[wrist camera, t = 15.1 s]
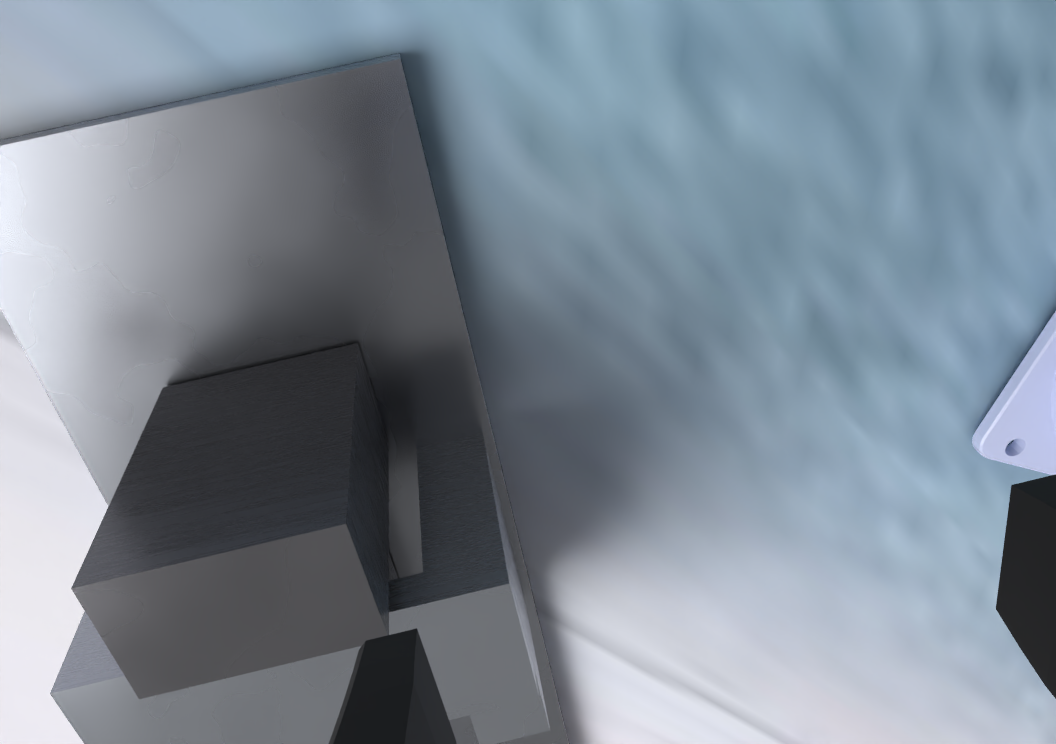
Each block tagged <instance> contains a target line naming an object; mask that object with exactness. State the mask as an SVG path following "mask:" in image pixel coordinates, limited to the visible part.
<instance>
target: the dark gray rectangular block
mask: <svg viewBox="0 0 1056 744" xmlns="http://www.w3.org/2000/svg"><path fill="white" fill-rule="evenodd" d="M397 578H398V577H397V574H396V571H395V568H394V565H393V562H392V560H391V557H390V554H389V438H388V435H387V432H386V429H385V426H384V423H383V420H382V417H381V414H380V410H379V407H378V404H377V401H376V398H375V395H374V392H373V389H372V385H371V382H370V379H369V376H368V373H367V370H366V367H365V364H364V361H363V357H362V354H361V351H360V348H359V345H358V343H355V344H351V345H347V346H342V347H338V348H334V349H329V350H325V351H321V352H316V353H312V354H307V355H303V356H299V357H294V358H290V359H286V360H281V361H277V362H272V363H268V364H264V365H259V366H255V367H251V368H246V369H242V370H238V371H233V372H229V373H224V374H220V375H216V376H211V377H207V378H203V379H198V380H194V381H189V382H185V383H181V384H176V385H172V386H168V387H163V388H162V390H161V393H160V395H159V397H158V399H157V401H156V404H155V406H154V408H153V410H152V412H151V415H150V417H149V419H148V421H147V423H146V426H145V428H144V430H143V432H142V434H141V437H140V439H139V441H138V443H137V445H136V448H135V450H134V452H133V454H132V456H131V459H130V461H129V463H128V465H127V467H126V470H125V472H124V474H123V476H122V478H121V481H120V483H119V485H118V487H117V489H116V492H115V494H114V496H113V498H112V500H111V503H110V505H109V507H108V509H107V511H106V514H105V516H104V518H103V520H102V522H101V525H100V527H99V529H98V531H97V533H96V536H95V538H94V540H93V542H92V544H91V547H90V549H89V551H88V553H87V555H86V558H85V560H84V562H83V564H82V566H81V569H80V571H79V573H78V575H77V577H76V580H75V582H74V584H73V586H72V588H71V589H72V590H73V592H74V594H75V595H76V597H77V599H78V600H79V602H80V604H81V605H82V607H83V608H84V610H85V612H86V613H87V615H88V617H89V618H90V620H91V622H92V623H93V625H94V626H95V628H96V630H97V631H98V633H99V635H100V636H101V638H102V640H103V641H104V643H105V644H106V646H107V648H108V649H109V651H110V653H111V654H112V656H113V657H114V659H115V661H116V662H117V664H118V666H119V667H120V669H121V671H122V672H123V674H124V675H125V677H126V679H127V680H128V682H129V684H130V685H131V687H132V689H133V690H134V692H135V693H136V695H137V697H138V698H139V699H143V698H147V697H151V696H155V695H160V694H164V693H168V692H172V691H176V690H180V689H185V688H189V687H193V686H197V685H201V684H205V683H209V682H214V681H218V680H222V679H226V678H230V677H234V676H238V675H243V674H247V673H251V672H255V671H259V670H263V669H268V668H272V667H276V666H280V665H284V664H288V663H292V662H297V661H301V660H305V659H309V658H313V657H317V656H321V655H326V654H330V653H334V652H338V651H342V650H346V649H351V648H355V647H359V646H362V645H363V644H364V642H365V641H366V640H370V639H375V638H379V637H383V636H387V635H389V580H393V579H397Z"/></svg>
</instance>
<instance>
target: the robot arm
mask: <svg viewBox="0 0 1056 744" xmlns="http://www.w3.org/2000/svg"><path fill="white" fill-rule="evenodd" d="M1012 440H1014V441H1013V442H1012V443H1011V444H1010V445H1008V444H1009V443H1010V442H1011V441H1012ZM972 444H973V446H974V448H975V449H976V450H977V451H978V452H979V453H980V454H981V455H982V456H984V457H986V458H988V459H992V460H995V461H999V462H1003V463H1007V464H1011V465H1015V466H1019V467H1023V468H1027V469H1031V470H1035V471H1038V472H1042V473H1046V474H1050V475H1052V476H1048V477H1043V478H1039V479H1035V480H1031V481H1027V482H1023V483H1019V484H1014V485H1012V486H1011V494H1010V502H1009V510H1008V518H1007V525H1006V533H1005V541H1004V549H1003V557H1002V565H1001V573H1000V581H999V588H998V596H997V604H996V610H997V611H998V613H999V615H1000V616H1001V618H1002V619H1003V621H1004V623H1005V624H1006V626H1007V627H1008V629H1009V631H1010V632H1011V634H1012V635H1013V637H1014V639H1015V640H1016V642H1017V643H1018V645H1019V647H1020V648H1021V650H1022V651H1023V653H1024V654H1025V656H1026V657H1027V659H1028V660H1029V662H1030V663H1031V665H1032V666H1033V668H1034V669H1035V671H1036V672H1037V674H1038V675H1039V677H1040V678H1041V680H1042V681H1043V683H1044V684H1045V686H1046V687H1047V688H1048V690H1049V691H1050V692H1051V693H1052V695H1053V696H1054V697H1055V698H1056V311H1055V313H1054V314H1053V316H1052V317H1051V319H1050V320H1049V322H1048V323H1047V325H1046V326H1045V328H1044V329H1043V331H1042V332H1041V334H1040V335H1039V337H1038V338H1037V340H1036V341H1035V343H1034V344H1033V346H1032V347H1031V349H1030V350H1029V352H1028V353H1027V355H1026V356H1025V358H1024V359H1023V361H1022V362H1021V364H1020V365H1019V367H1018V368H1017V370H1016V371H1015V373H1014V374H1013V376H1012V377H1011V379H1010V380H1009V382H1008V383H1007V385H1006V386H1005V388H1004V389H1003V391H1002V392H1001V394H1000V395H999V397H998V398H997V400H996V401H995V403H994V404H993V406H992V407H991V409H990V410H989V412H988V413H987V415H986V416H985V418H984V419H983V421H982V422H981V424H980V425H979V427H978V428H977V430H976V431H975V433H974V436H973V438H972ZM1007 445H1008V446H1007ZM329 744H457V743H456V739H455V736H454V733H453V730H452V727H451V725H450V722H449V719H448V716H447V713H446V710H445V707H444V704H443V702H442V699H441V696H440V693H439V690H438V687H437V684H436V681H435V679H434V676H433V673H432V670H431V667H430V664H429V661H428V658H427V656H426V653H425V650H424V647H423V644H422V641H421V638H420V635H419V632H418V630H417V628H416V629H412V630H408V631H404V632H399V633H395V634H391V635H387V636H383V637H379V638H375V639H370V640H366V641H365V642H364V644H363V645H362V646H361V648H360V649H359V651H358V654H357V658H356V662H355V665H354V669H353V672H352V675H351V678H350V682H349V685H348V688H347V691H346V694H345V698H344V701H343V704H342V707H341V710H340V713H339V716H338V718H337V721H336V724H335V727H334V730H333V733H332V735H331V738H330V741H329Z"/></svg>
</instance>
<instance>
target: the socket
mask: <svg viewBox="0 0 1056 744" xmlns="http://www.w3.org/2000/svg"><path fill="white" fill-rule="evenodd" d="M0 309H1V311H2V312H3V314H4V316H5V318H6V320H7V322H8V323H9V325H10V327H11V329H12V331H13V333H14V334H15V336H16V338H17V340H18V342H19V344H20V345H21V347H22V349H23V351H24V353H25V355H26V356H27V358H28V360H29V362H30V364H31V365H32V367H33V369H34V371H35V373H36V375H37V376H38V378H39V380H40V382H41V384H42V386H43V387H44V389H45V391H46V393H47V395H48V397H49V398H50V400H51V402H52V404H53V406H54V408H55V409H56V411H57V413H58V415H59V417H60V419H61V420H62V422H63V424H64V426H65V428H66V430H67V431H68V433H69V435H70V437H71V439H72V441H73V442H74V444H75V446H76V448H77V450H78V452H79V453H80V455H81V457H82V459H83V461H84V462H85V464H86V466H87V468H88V470H89V472H90V473H91V475H92V477H93V479H94V481H95V483H96V484H97V486H98V488H99V490H100V492H101V494H102V495H103V497H104V499H105V501H106V503H107V505H108V506H109V505H110V503H111V500H112V498H113V496H114V494H115V492H116V489H117V487H118V485H119V483H120V481H121V478H122V476H123V474H124V472H125V470H126V467H127V465H128V463H129V461H130V459H131V456H132V454H133V452H134V450H135V448H136V445H137V443H138V441H139V439H140V437H141V434H142V432H143V430H144V428H145V426H146V423H147V421H148V419H149V417H150V415H151V412H152V410H153V408H154V406H155V404H156V401H157V399H158V397H159V395H160V393H161V390H162V388H163V387H168V386H172V385H176V384H181V383H185V382H189V381H194V380H198V379H203V378H207V377H211V376H216V375H220V374H224V373H229V372H233V371H238V370H242V369H246V368H251V367H255V366H259V365H264V364H268V363H272V362H277V361H281V360H286V359H290V358H294V357H299V356H303V355H307V354H312V353H316V352H321V351H325V350H329V349H334V348H338V347H342V346H347V345H351V344H355V343H358V345H359V348H360V351H361V354H362V357H363V361H364V364H365V367H366V370H367V373H368V376H369V379H370V382H371V385H372V389H373V392H374V395H375V398H376V401H377V404H378V407H379V410H380V414H381V417H382V420H383V423H384V426H385V429H386V432H387V435H388V438H389V554H390V557H391V560H392V562H393V565H394V568H395V571H396V574H397V577H398V578H397V579H393V580H389V635H391V634H395V633H399V632H404V631H408V630H412V629H416V628H417V630H418V632H419V635H420V638H421V641H422V644H423V647H424V650H425V653H426V656H427V658H428V661H429V664H430V667H431V670H432V673H433V676H434V679H435V681H436V684H437V687H438V690H439V693H440V696H441V699H442V702H443V704H444V707H445V710H446V713H447V716H448V719H449V722H450V725H451V727H452V730H453V733H454V736H455V739H456V743H457V744H569V741H568V737H567V733H566V729H565V725H564V720H563V716H562V712H561V708H560V704H559V700H558V696H557V692H556V688H555V684H554V680H553V676H552V672H551V668H550V663H549V659H548V655H547V651H546V647H545V643H544V639H543V635H542V631H541V627H540V623H539V619H538V615H537V610H536V606H535V602H534V598H533V594H532V590H531V586H530V582H529V578H528V574H527V570H526V566H525V562H524V558H523V553H522V549H521V545H520V541H519V537H518V533H517V529H516V525H515V521H514V517H513V513H512V509H511V505H510V501H509V496H508V492H507V488H506V484H505V480H504V476H503V472H502V468H501V464H500V460H499V456H498V452H497V448H496V443H495V439H494V435H493V431H492V427H491V423H490V419H489V415H488V411H487V407H486V403H485V399H484V395H483V391H482V386H481V382H480V378H479V374H478V370H477V366H476V362H475V358H474V354H473V350H472V346H471V342H470V338H469V333H468V329H467V325H466V321H465V317H464V313H463V309H462V305H461V301H460V297H459V293H458V289H457V285H456V281H455V276H454V272H453V268H452V264H451V260H450V256H449V252H448V248H447V244H446V240H445V236H444V232H443V228H442V224H441V219H440V215H439V211H438V207H437V203H436V199H435V195H434V191H433V187H432V183H431V179H430V175H429V171H428V166H427V162H426V158H425V154H424V150H423V146H422V142H421V138H420V134H419V130H418V126H417V122H416V118H415V114H414V109H413V105H412V101H411V97H410V93H409V89H408V85H407V81H406V77H405V73H404V69H403V65H402V61H401V56H400V53H398V54H394V55H389V56H384V57H380V58H375V59H371V60H366V61H362V62H357V63H352V64H348V65H343V66H339V67H334V68H329V69H325V70H320V71H316V72H311V73H306V74H302V75H297V76H293V77H288V78H284V79H279V80H274V81H270V82H265V83H261V84H256V85H251V86H247V87H242V88H238V89H233V90H228V91H224V92H219V93H215V94H210V95H205V96H201V97H196V98H192V99H187V100H183V101H178V102H173V103H169V104H164V105H160V106H155V107H150V108H146V109H141V110H137V111H132V112H127V113H123V114H118V115H114V116H109V117H105V118H100V119H95V120H91V121H86V122H82V123H77V124H72V125H68V126H63V127H59V128H54V129H49V130H45V131H40V132H36V133H31V134H27V135H22V136H17V137H13V138H8V139H4V140H0ZM360 648H361V646H359V647H355V648H351V649H346V650H342V651H338V652H334V653H330V654H326V655H321V656H317V657H313V658H309V659H305V660H301V661H297V662H292V663H288V664H284V665H280V666H276V667H272V668H268V669H263V670H259V671H255V672H251V673H247V674H243V675H238V676H234V677H230V678H226V679H222V680H218V681H214V682H209V683H205V684H201V685H197V686H193V687H189V688H185V689H180V690H176V691H172V692H168V693H164V694H160V695H155V696H151V697H147V698H143V699H139V698H138V697H137V695H136V693H135V692H134V690H133V689H132V687H131V685H130V684H129V682H128V680H127V679H126V677H125V675H124V674H123V672H122V671H121V669H120V667H119V666H118V664H117V662H116V661H115V659H114V657H113V656H112V654H111V653H110V651H109V649H108V648H107V646H106V644H105V643H104V641H103V640H102V638H101V636H100V635H99V633H98V631H97V630H96V628H95V626H94V625H93V623H92V622H91V620H90V618H89V617H88V615H87V613H86V612H84V614H83V617H82V619H81V622H80V624H79V626H78V629H77V631H76V633H75V636H74V638H73V641H72V643H71V645H70V648H69V650H68V652H67V655H66V657H65V660H64V662H63V664H62V667H61V669H60V671H59V674H58V676H57V678H56V681H55V683H54V686H53V688H52V690H51V693H50V694H51V696H52V697H53V699H54V700H55V702H56V703H57V705H58V706H59V707H60V709H61V710H62V712H63V713H64V715H65V716H66V718H67V719H68V721H69V722H70V723H71V725H72V726H73V728H74V729H75V731H76V732H77V734H78V735H79V737H80V738H81V739H82V741H83V742H84V744H329V741H330V738H331V735H332V733H333V730H334V727H335V724H336V721H337V718H338V716H339V713H340V710H341V707H342V704H343V701H344V698H345V694H346V691H347V688H348V685H349V682H350V678H351V675H352V672H353V669H354V665H355V662H356V658H357V654H358V651H359V649H360Z"/></svg>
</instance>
